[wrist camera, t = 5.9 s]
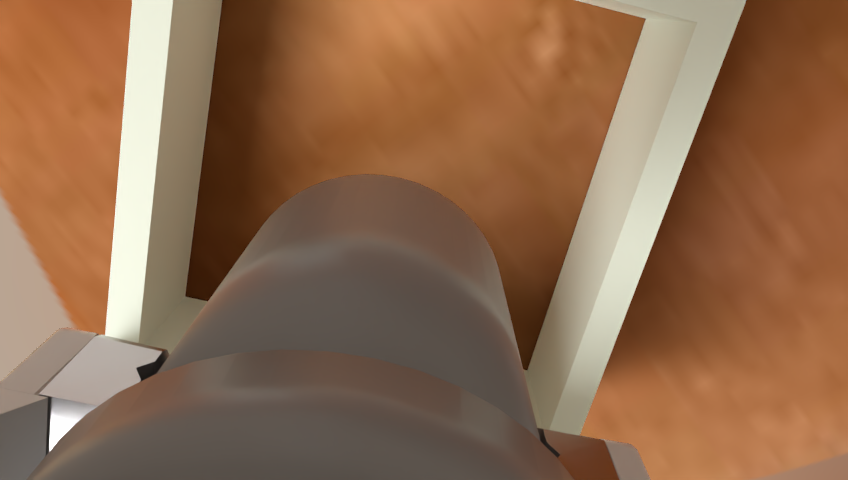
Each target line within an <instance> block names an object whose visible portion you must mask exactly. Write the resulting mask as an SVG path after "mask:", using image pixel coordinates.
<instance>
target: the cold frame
mask: <svg viewBox="0 0 848 480" xmlns="http://www.w3.org/2000/svg"><path fill="white" fill-rule="evenodd" d="M576 1H580V2H584V3H588V4H591V5H595V6H599V7H603V8H607V9H611V10H615V11H618V12H622V13H626V14H630V15H634V16H638V17H641V18H645V19H646V20H645V23H644V26H643V29H642V32H641V35H640V38H639V41H638V44H637V47H636V50H635V53H634V56H633V59H632V62H631V65H630V68H629V70H628V73H627V76H626V79H625V82H624V85H623V88H622V91H621V94H620V97H619V100H618V103H617V106H616V109H615V112H614V115H613V118H612V121H611V124H610V127H609V130H608V133H607V136H606V139H605V142H604V145H603V148H602V151H601V153H600V156H599V159H598V162H597V165H596V168H595V171H594V174H593V177H592V180H591V183H590V186H589V189H588V192H587V195H586V198H585V201H584V204H583V207H582V210H581V213H580V216H579V219H578V222H577V225H576V228H575V231H574V234H573V236H572V239H571V242H570V245H569V248H568V251H567V254H566V257H565V260H564V263H563V266H562V269H561V272H560V275H559V278H558V281H557V284H556V287H555V290H554V293H553V296H552V299H551V302H550V305H549V308H548V311H547V314H546V317H545V319H544V322H543V325H542V328H541V331H540V334H539V337H538V340H537V343H536V346H535V349H534V352H533V355H532V358H531V361H530V364H529V367H528V370H524V369H523V371H524V375H525V379H526V383H527V387H528V391H529V396H530V400H531V404H532V408H533V412H534V416H535V420H536V424H537V428H543V429H548V430H553V431H559V432H564V433H569V434H574V435H580V433H581V430H582V427H583V425H584V422H585V420H586V417H587V414H588V412H589V409H590V407H591V404H592V401H593V399H594V396H595V394H596V391H597V388H598V386H599V383H600V381H601V378H602V375H603V373H604V370H605V368H606V365H607V362H608V360H609V357H610V355H611V352H612V349H613V347H614V344H615V341H616V339H617V336H618V334H619V331H620V328H621V326H622V323H623V321H624V318H625V315H626V313H627V310H628V308H629V305H630V302H631V300H632V297H633V295H634V292H635V289H636V287H637V284H638V282H639V279H640V276H641V274H642V271H643V269H644V266H645V263H646V261H647V258H648V256H649V253H650V250H651V248H652V245H653V242H654V240H655V237H656V235H657V232H658V229H659V227H660V224H661V222H662V219H663V216H664V214H665V211H666V209H667V206H668V203H669V201H670V198H671V196H672V193H673V190H674V188H675V185H676V183H677V180H678V177H679V175H680V172H681V170H682V167H683V164H684V162H685V159H686V157H687V154H688V151H689V149H690V146H691V143H692V141H693V138H694V136H695V133H696V130H697V128H698V125H699V123H700V120H701V117H702V115H703V112H704V110H705V107H706V104H707V102H708V99H709V97H710V94H711V91H712V89H713V86H714V84H715V81H716V78H717V76H718V73H719V71H720V68H721V65H722V63H723V60H724V58H725V55H726V52H727V50H728V47H729V44H730V42H731V39H732V37H733V34H734V31H735V29H736V26H737V24H738V21H739V18H740V16H741V13H742V11H743V8H744V5H745V3H746V0H576ZM221 7H222V0H132V12H131V24H130V36H129V49H128V61H127V73H126V86H125V98H124V110H123V123H122V135H121V147H120V160H119V172H118V184H117V197H116V209H115V221H114V234H113V246H112V258H111V271H110V283H109V295H108V308H107V320H106V332H105V336H110V337H114V338H119V339H123V340H127V341H132V342H136V343H140V344H145V345H149V346H153V347H158V348H162V349H167V350H168V353H169V355H170V354H171V352H172V351H173V350H174V348H175V347H176V345H177V344H178V343H179V341H180V340H181V338H182V337H183V336H184V334H185V333H186V331H187V330H188V329H189V327H190V326H191V324H192V323H193V322H194V320H195V319H196V317H197V316H198V315H199V313H200V312H201V310H202V309H203V308H204V306H205V305H206V303H207V302H208V301H204V300H199V299H194V298H190V297H185V294H186V286H187V279H188V271H189V263H190V255H191V247H192V239H193V231H194V223H195V215H196V207H197V199H198V191H199V183H200V175H201V167H202V159H203V151H204V143H205V135H206V127H207V119H208V111H209V103H210V95H211V87H212V79H213V71H214V63H215V55H216V47H217V39H218V31H219V23H220V15H221Z"/></svg>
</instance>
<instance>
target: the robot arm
mask: <svg viewBox="0 0 848 480" xmlns="http://www.w3.org/2000/svg"><path fill="white" fill-rule="evenodd" d="M168 357H169V353H168V350H167V349H162V348H158V347H153V346H149V345H145V344H140V343H136V342H132V341H127V340H123V339H119V338H114V337H110V336H105V335H99V334H97V333H92V332H87V331H82V330H78V329H73V328H68V327H67V328H61V329H59V330H57V331H56V332H55V333H54V334H52V336H50V337H49V338H48V339H47V340H46V341H45V342H44V343H43V344H41V345H40V346H39V347H38V348H37V349H36V350H35V351H34V352H33V353H32V354H30V355H29V356H28V357H27V358H26V359H25V360H24V361H23V362H21V363H20V364H19V365H18V366H17V367H16V368H15V369H14V370H13V371H11V372H10V373H9V374H8V375H7V376H6V377H5V378H4V379H3V380H2V381H0V480H26V479H27V478H28V477H29V476H30V474H31V473H32V472H33V471H34V470H35V468H36V467H37V466H38V465H39V464H40V462H41V461H42V460H43V459H44V457H45V456H46V455H47V454H48V453H49V451H50V450H51V449H52V448H53V447H54V445H55V444H56V443H57V442H58V441H59V439H60V438H61V437H62V436H63V435H64V434H66V433H67V432H68V431H69V430H70V429H71V428H72V427H73V426H74V425H75V424H76V423H77V422H78V421H79V420H81V419H82V418H83V417H84V416H85V415H86V414H87V413H89V412H90V411H92V410H93V409H95V408H96V407H97V406H99V405H100V404H102V403H103V402H105V401H106V400H108V399H109V398H111V397H112V396H114V395H115V394H117V393H118V392H120V391H122V390H124V389H126V388H128V387H130V386H133V385H135V384H137V383H139V382H141V381H143V380H145V379H147V378H149V377H151V376H153V375H155V374H156V373H157V372H158V371H159V369H160V368H161V366H162V365H163V364H164V362H165V361H166V359H167V358H168ZM537 429H538V433H539V437H540V441H541V443H543V444H544V445H545V446H546V447H547V448H548V449H549V450H550V451H551V452H552V453H553V454H554V455H555V456H556V457H557V458H558V459H559V461H560V462H561V463H562V464H563V466H564V467H565V468H566V470H567V471H568V472H569V473H570V475H571V476H572V477H573V479H574V480H651V479H650V477H649V475H648V473H647V471H646V468H645V466H644V464H643V462H642V460H641V458H640V455H639V453H638V451H637V449H636V448H635V447H634V446H633V445H631V444H628V443H622V442H616V441H610V440H604V439H595V438H590V437H585V436H580V435H574V434H569V433H564V432H559V431H553V430H548V429H543V428H537Z"/></svg>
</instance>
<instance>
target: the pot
mask: <svg viewBox="0 0 848 480" xmlns="http://www.w3.org/2000/svg"><path fill="white" fill-rule="evenodd" d="M26 480H574V479H573V477H572V476H571V475H570V473H569V472H568V471H567V470H566V468H565V467H564V466H563V464H562V463H561V462H560V461H559V459H558V458H557V457H556V456H555V455H554V454H553V453H552V452H551V451H550V450H549V449H548V448H547V447H546V446H545V445H544V444H543V443H541V441H540V437H539V433H538V429H537V424H536V420H535V416H534V412H533V408H532V404H531V400H530V396H529V391H528V387H527V383H526V379H525V375H524V371H523V367H522V363H521V359H520V354H519V350H518V346H517V342H516V338H515V334H514V330H513V326H512V321H511V317H510V313H509V309H508V305H507V301H506V297H505V293H504V288H503V284H502V280H501V276H500V272H499V268H498V265H497V262H496V259H495V256H494V254H493V251H492V249H491V247H490V245H489V243H488V242H487V240H486V238H485V236H484V235H483V233H482V232H481V231H480V229H479V228H478V226H477V225H476V224H475V223H474V222H473V220H472V219H471V218H470V217H469V216H468V215H467V214H466V213H465V212H464V211H463V210H462V209H460V208H459V207H458V206H457V205H455V204H454V203H453V202H452V201H450V200H449V199H447V198H446V197H444V196H442V195H441V194H439V193H438V192H436V191H434V190H432V189H430V188H427V187H425V186H423V185H421V184H418V183H415V182H412V181H409V180H405V179H402V178H397V177H391V176H385V175H368V174H363V175H351V176H344V177H339V178H335V179H330V180H327V181H324V182H321V183H318V184H316V185H313V186H311V187H309V188H307V189H305V190H303V191H301V192H299V193H297V194H296V195H294V196H293V197H291V198H290V199H289V200H287V201H286V202H284V203H283V204H282V205H281V206H280V207H279V208H278V209H277V210H276V211H275V212H273V213H272V214H271V215H270V217H269V218H268V219H267V220H266V222H265V223H264V224H263V225H262V227H261V228H260V229H259V231H258V232H257V234H256V235H255V236H254V238H253V239H252V241H251V242H250V243H249V245H248V246H247V248H246V249H245V250H244V252H243V253H242V255H241V256H240V257H239V259H238V260H237V262H236V263H235V264H234V266H233V267H232V269H231V270H230V271H229V273H228V274H227V276H226V277H225V278H224V280H223V281H222V282H221V284H220V285H219V287H218V288H217V289H216V291H215V292H214V294H213V295H212V296H211V298H210V299H209V301H208V302H207V303H206V305H205V306H204V308H203V309H202V310H201V312H200V313H199V315H198V316H197V317H196V319H195V320H194V322H193V323H192V324H191V326H190V327H189V329H188V330H187V331H186V333H185V334H184V336H183V337H182V338H181V340H180V341H179V343H178V344H177V345H176V347H175V348H174V350H173V351H172V352H171V354H170V355H169V357H168V358H167V359H166V361H165V362H164V364H163V365H162V366H161V368H160V369H159V371H158V372H157V373H156V374H155V375H153V376H151V377H149V378H147V379H145V380H143V381H141V382H139V383H137V384H135V385H133V386H130V387H128V388H126V389H124V390H122V391H120V392H118V393H117V394H115V395H114V396H112V397H111V398H109V399H108V400H106V401H105V402H103V403H102V404H100V405H99V406H97V407H96V408H95V409H93V410H92V411H90V412H89V413H87V414H86V415H85V416H84V417H83V418H82V419H81V420H79V421H78V422H77V423H76V424H75V425H74V426H73V427H72V428H71V429H70V430H69V431H68V432H67V433H66V434H64V435H63V436H62V437H61V438H60V439H59V441H58V442H57V443H56V444H55V445H54V447H53V448H52V449H51V450H50V451H49V453H48V454H47V455H46V456H45V457H44V459H43V460H42V461H41V462H40V464H39V465H38V466H37V467H36V468H35V470H34V471H33V472H32V473H31V474H30V476H29V477H28V478H27V479H26Z"/></svg>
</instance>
